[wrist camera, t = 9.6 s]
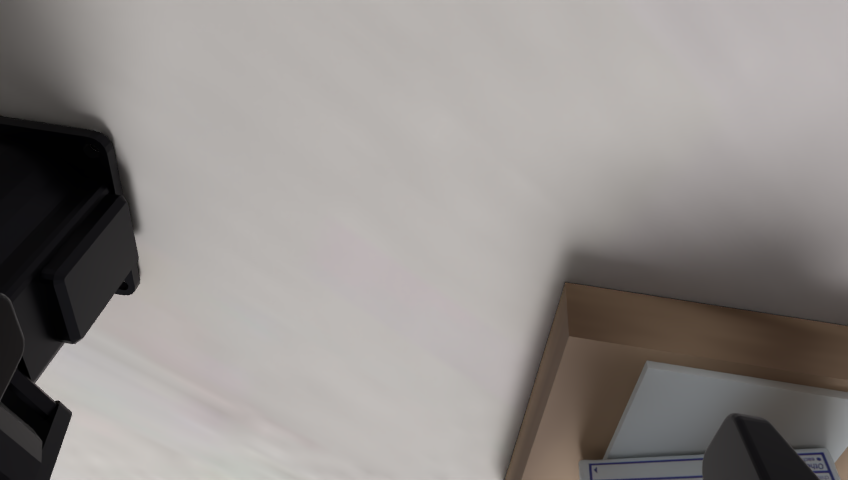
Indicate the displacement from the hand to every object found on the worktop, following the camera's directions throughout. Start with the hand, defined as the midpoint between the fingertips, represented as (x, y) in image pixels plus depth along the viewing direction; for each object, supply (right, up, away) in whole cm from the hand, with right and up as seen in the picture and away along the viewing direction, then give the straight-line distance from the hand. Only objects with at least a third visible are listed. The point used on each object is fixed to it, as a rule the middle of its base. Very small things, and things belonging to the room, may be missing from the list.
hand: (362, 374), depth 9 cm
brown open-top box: (+11, -5, +18) cm, 21 cm away
